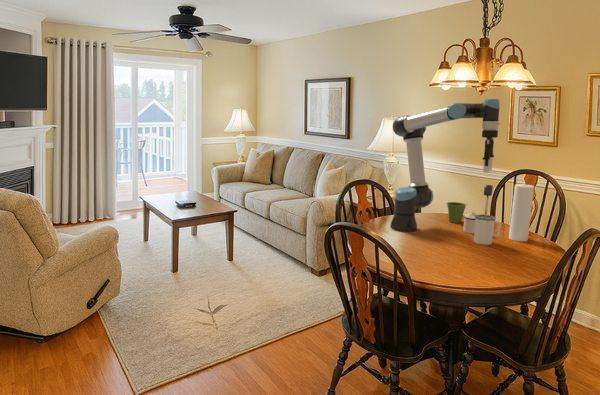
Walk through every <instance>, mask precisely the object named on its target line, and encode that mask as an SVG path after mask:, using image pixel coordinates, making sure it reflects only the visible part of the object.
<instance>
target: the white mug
mask: <svg viewBox="0 0 600 395" xmlns="http://www.w3.org/2000/svg"><path fill="white" fill-rule="evenodd" d="M484 216H485V214H477V215H476V216H475V218H476V223H475V233H474V234H473V236H474V237H473V243H476V244H478V245H484V246H486V245H487V246H488V245H492V244H493V238H494V237H495V238H499V237H500V230H501V221H496V216H493V215H490V214H487V217H486V218H484ZM495 224H496V225H497V231H496V234H494V229H495Z"/></svg>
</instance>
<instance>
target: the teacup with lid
mask: <svg viewBox="0 0 600 395" xmlns="http://www.w3.org/2000/svg"><path fill="white" fill-rule="evenodd" d="M476 215H478V214H477V213H475V211H471V212H470V213H468V214H465V215H463V228H462V230H463V232H464V233H466V234H471V235H474V233H475V223H476V218H475V216H476Z"/></svg>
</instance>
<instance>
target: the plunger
mask: <svg viewBox="0 0 600 395" xmlns="http://www.w3.org/2000/svg"><path fill="white" fill-rule="evenodd" d="M483 187H484V190H483V195H484V196H486V198H485V207H484V208H485V209H484V215H485V216H484V218H486V217H487V215H488V207H489V206H488V204H489V197H490V196H493V189H494V186H493V185H492V184H484V186H483Z"/></svg>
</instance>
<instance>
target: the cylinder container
mask: <svg viewBox="0 0 600 395" xmlns="http://www.w3.org/2000/svg"><path fill="white" fill-rule="evenodd" d="M534 191H535V186H534V185H532V184H525V183H523V184H522V183H517V184H514V191H513V199H512V207H511V216H510V222H509V223H510V224H509V233H508V239H510V240H512V241H515V242H527V241H529V240H528V239H529V231H530V223H531V217H532V210H533V209H532V208H533V200H534Z"/></svg>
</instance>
